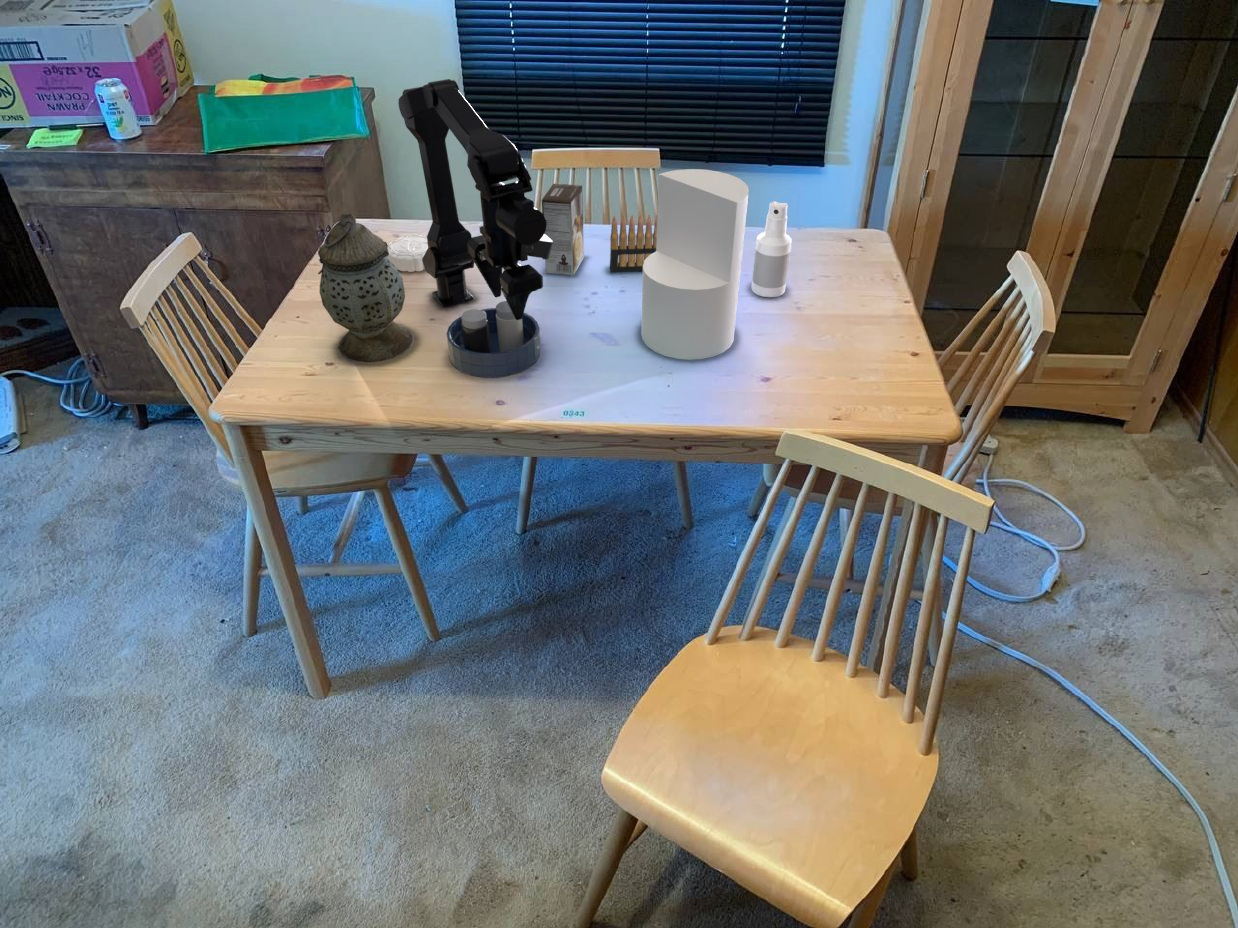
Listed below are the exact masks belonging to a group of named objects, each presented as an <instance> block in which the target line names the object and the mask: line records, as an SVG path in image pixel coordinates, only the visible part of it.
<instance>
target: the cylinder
mask: <svg viewBox="0 0 1238 928" xmlns="http://www.w3.org/2000/svg"><path fill="white" fill-rule="evenodd" d="M657 186H658V188H657V214H656V216H657V244H656V252H654V253H652V254H651V255H649V256H648V257H647V258H646V259H645V260H644V264H643V272H642V281H641V282H642V286H641V326H640V327H641V328H640V334H641V339H642V342H643V343H644V344H645V346H646V347H647V348H648V349H650V350H652V351H653V352H654V353H656V354H659V355H662V356H664V357H668V358H672V359H677V360H687V361H688V360H689V361H693V360H694V361H695V360H704V359H709V358H713V357H716V356H718V355H721V354H723V353H724V352H726V351H728V349H730V348H731V346H732V344H733V343H734V339H735V332H736V331H735V330H736V319H737V311H738V310H737V309H738V302H739V301H738V300H739V292H740V291H739V290H740V280H741V271H742V263H743V251H744V242H745V233H746V232H745V231H746V221H747V214H748V213H747V212H748V201H749V192H750V188H749V186H748V185H747V183H746V182H744V181H743V180H742V179H741V178H739V177H736V176H734V175H733V174H729V173H726V172H722V171H718V170H717V171H716V170H711V169H700V168H699V169H698V168H687V169H676V170H670V171H665V172H662V173H658V185H657Z"/></svg>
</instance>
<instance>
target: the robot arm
mask: <svg viewBox="0 0 1238 928" xmlns="http://www.w3.org/2000/svg"><path fill="white" fill-rule="evenodd" d="M459 87H460V86H459V85H458V83H457V81H456V80H455V79H451V78H446V79H440V80H434V81H429V82H427V84H424V85H423V86H418V87H411V88H406V89H403V91H402V94H401V95H400V97H399V98H398V101H397V102H398V103H397V104H398V110H399V113H400V115H401V117H402V118H403V121H404V125H405V127H406V129H407V130H408V131H409V132H410V133H411V135H412V136H413V137H414V138H415V139H416V141H417V143H418V149H419V156H420V160H421V166H422V170H423V171H422V172H423V177H424V180H425V187H426V192H427V197H428V203H429V208H430V215H431V220H432V222H431V225H430V227H429V230H428V232H427V235H426V236H427V242H428V249H427V251H426V253H425V255H424V257H423V259H422V261H423V265H424V269H425V270H424V271H425V272H426V273H427V274H428V275H430V276H431V277H432V278H433V279H435V282H436V289H437V290H435V291H432V296H433V297H434V298H435V300H436V301H437V302H438V303H439V304H440V306H441V307H443V308H448V307H451V306H455V305H460V304H464V303H468V302H472V301H474V296H473V295H472V294H471V293H470V292H469V290H468V289H467V279H466V272H465V270H466V271H467V270H468V269H474V267H475V266H476V267H477V269H478V271H479V273H480V274H481V276H482V278H483V280H484V281H485V283H486V284H487V287H488V288H489V290H490V291H491V293H492V295H493V297H494V298H496V299H497V298H500V297H501V296H502V295H503V297H504V299H505V301H507V303H508V305H509V307H510V309H511V311H512V313H513V315H514V317H515V319H516V320H520V319H522V317H523V313H525V309H526V305H527V303H528V300H529V297H530V295H531V293H532V292H537V291H538V290H541V289H543V287H544V275H542V274H541V273H540V272H539V271H538V270H537V269H536V268H535V267H534V266H532V265H531V264H524V265H521V264H519V262H526V261H529V259H528V257H532V258H539V259H542V260H544V261H545V260H547V259H548V258H549V255H550V251H551V248H552V244H553V241H552V240H551V239H550V238H549V237H547V236H546V235H545V234H544V233H545V231H546V225H547V223H546V219H545V217H544V215H543V214H542V211H541V210H539V209H537V208H536V207H535V202H534V200H533V199H531V198H529V197H526V196H525V194H527V193H530V192H531V193H532V192H533V190H534V189H533V186H532V183H531V181H532V177H531V174H530V172H529V170H528V168H527V166H526V164H525V162H524V160H523V158H522V156H521V153H520V151H519V149H518V148H516V146H515V144H514V143H512V142H511V141H510V140H509V139H508V138H507V137H506V136H505V135H504V134H503V133H498V132H496V131H494V130H490V128H489V127H488V126H487V125H486V124H485V123H484V121H483V120H482V118H481V117H480V116H479V115H478V113H477V112H476V111H475V110H474V108H473V107H472V106H471V104H470V103H469V102H468V101H467V99H466V98H465V96H464V95H463V94H462V93H461V92H460V88H459ZM449 131H450V132H451V133H452V134H453V136H454V137H455V139H456V140H457V141H458V142H459V144H460V145H461V147H462V148H463V149H464V151H465V152H466V154H467V162H466V163H467V164H466V166H467V168H468V171H469V173H470V175H471V177H472V179H473V181H474V183H475V185H474V188H475V189H476V190H477V191H478V192H479V198H480V207H481V216H482V225H481V226H479V233H480V235H476V236H472V233H471V232H470V231H469V230H468V229H467V228H466V227H465V226H464V225H463V224H462V223H461V221H460V219H459V214H458V208H457V207H458V206H457V202H456V196H455V191H454V185H453V178H452V172H451V166H450V161H449V155H448V148H447V141H446V139H447V137H448V135H449ZM516 179H518V181H514V180H516ZM509 181H513V182H510V183H504V182H509Z"/></svg>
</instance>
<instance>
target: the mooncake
mask: <svg viewBox="0 0 1238 928" xmlns="http://www.w3.org/2000/svg"><path fill="white" fill-rule="evenodd" d="M387 245H388V247H387V248H388V252H389V255H388V256H387V257H386V258H387V259H388V260H389V261H390V262H391V263H393V264H394V265H395V266H396V268H397V270H398V271H400V272H409V273H413V272H422V271H425V269H424V265H423V261H422V259H423V257H424V255H425V253H426V251H427V249H428V242H427V235H426V234H424V235H420V234H410V235H403V236H401V237H399V238H395V239H393V240H391V241H390V242H388V243H387Z"/></svg>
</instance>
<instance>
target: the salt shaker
mask: <svg viewBox="0 0 1238 928" xmlns="http://www.w3.org/2000/svg"><path fill="white" fill-rule="evenodd" d="M495 308H496V323H497V333H498V343H499V350H500V352H505V351H509V350H513V349H516V348H518V347H520V346H522V345H524V334H523V321H522V319H520V320H516V319H515V317H514V315H513V313H512V311H511V309H510V307H509V305H508V303H507V301H506V300H503V301H500V302H498V303H497V304H496V305H495Z"/></svg>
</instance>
